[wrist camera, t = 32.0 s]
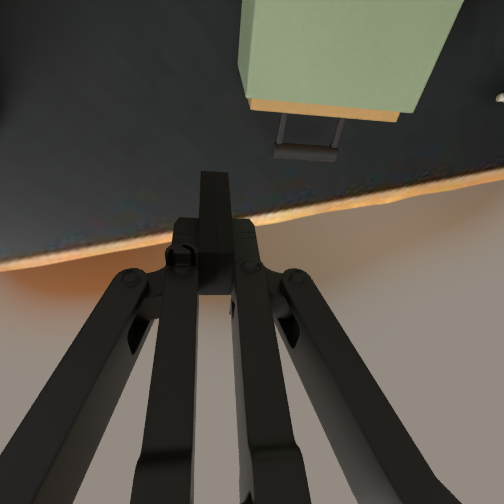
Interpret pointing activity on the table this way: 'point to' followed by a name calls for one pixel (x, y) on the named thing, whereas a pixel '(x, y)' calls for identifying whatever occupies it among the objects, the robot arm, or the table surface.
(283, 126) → the drawer
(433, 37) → the cabinet
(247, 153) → the table surface
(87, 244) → the table surface
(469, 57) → the table surface
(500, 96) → the bull figurine
